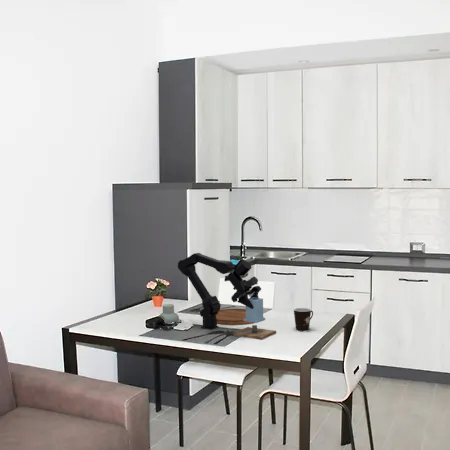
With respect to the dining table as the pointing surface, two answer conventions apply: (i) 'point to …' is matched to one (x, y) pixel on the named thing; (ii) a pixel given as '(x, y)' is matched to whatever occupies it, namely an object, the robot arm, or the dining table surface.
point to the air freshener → (169, 314)
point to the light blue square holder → (255, 311)
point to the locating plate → (254, 333)
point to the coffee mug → (302, 318)
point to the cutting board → (232, 317)
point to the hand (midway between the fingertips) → (256, 307)
